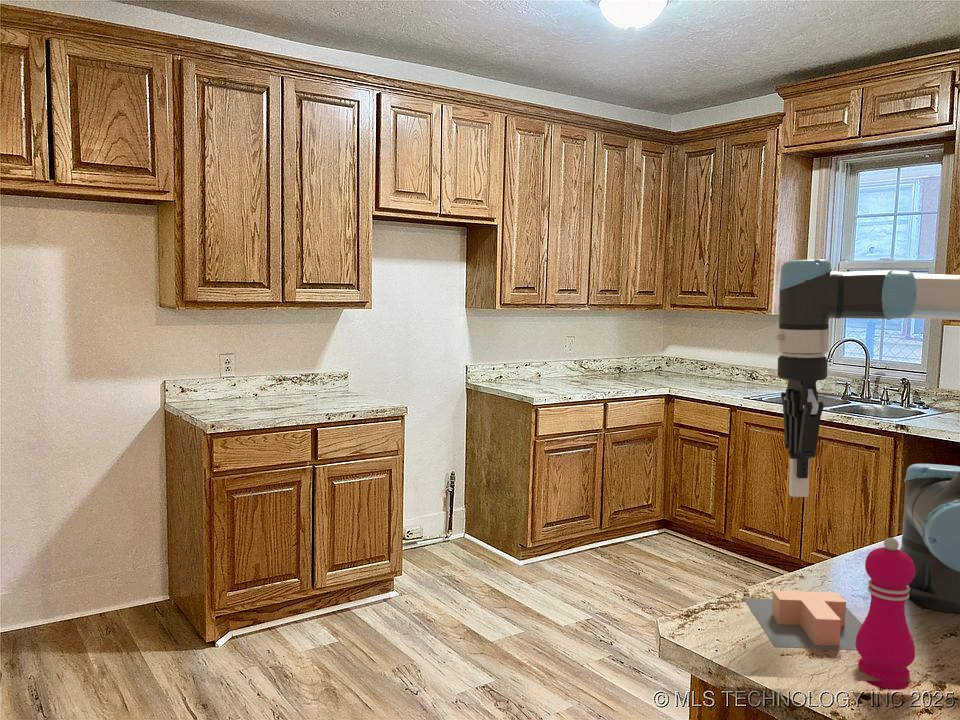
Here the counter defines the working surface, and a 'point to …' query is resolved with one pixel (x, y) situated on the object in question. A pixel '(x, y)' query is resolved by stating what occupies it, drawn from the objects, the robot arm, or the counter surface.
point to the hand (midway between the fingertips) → (798, 495)
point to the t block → (812, 614)
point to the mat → (799, 628)
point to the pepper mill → (887, 618)
